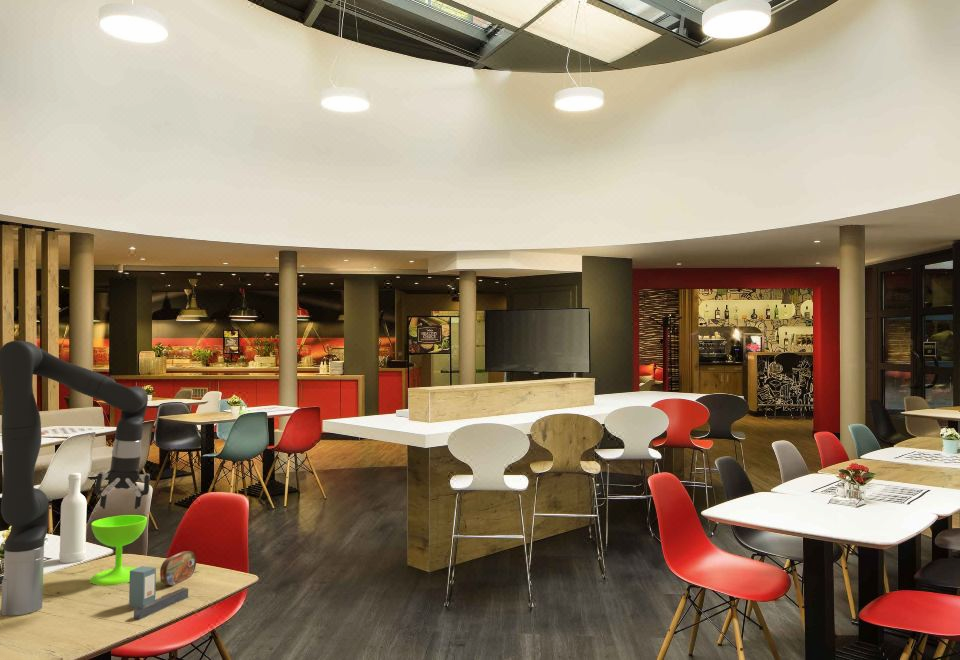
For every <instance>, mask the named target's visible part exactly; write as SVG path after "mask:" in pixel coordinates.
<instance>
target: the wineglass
mask: <svg viewBox="0 0 960 660" xmlns="http://www.w3.org/2000/svg"><path fill="white" fill-rule="evenodd" d="M147 523H148V517H147V516H146V515H145V516H144V515H138V514H131V515H130V514H125V515H115V516H109V517H104V518H100V519H95V520H94V521H92V522H91V530H92V533H93V535H94V537H95V539H96V540H97V541H99V543H101V544H103V545H105V546H107V547H112V548H115V564H114V567H113V568H110V569H105V570H102V571H99V572H98V573H95V574H94V575H93V576H92V577H90V580H89V583H90V582H91V583H93V584H97V585H96V586H98V585H113V586H116V585H115V584H121V583H126V584H128V583H127V582H130V570H133V569H136V568H137V566H136V567H133V566H123V547H125V546H126V545H127V546H128V545H129V544H132V543H134V542H135V541H136V540H137V539H139V537H140V536H141V535H142V534H143V533H144V531H145V528H146V526H147ZM91 583H90V584H91ZM93 584H92V585H93ZM121 585H122V584H121Z"/></svg>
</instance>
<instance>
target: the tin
mask: <svg viewBox="0 0 960 660" xmlns="http://www.w3.org/2000/svg"><path fill="white" fill-rule="evenodd" d="M196 566H197V558H196V555H195V553H194V552H193V551H191V550H188V551H186V550H185V551H181V552H179V553H176V554H174V555H172V556H170V557H168V558H166V559H165V560H164V561H163V562H162V563H161V566H160V568H159V569H160V571H159V572H160V573H159V574H160V575H159V577H160V582H161V583H162V584H163V585H164V586H173V585H174V586H176V585H177V584H178V585H179V583H181V582H183V581H185V580H187V579H189V578H190V577H192V575H193V574H194V573H195V571H196Z"/></svg>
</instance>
